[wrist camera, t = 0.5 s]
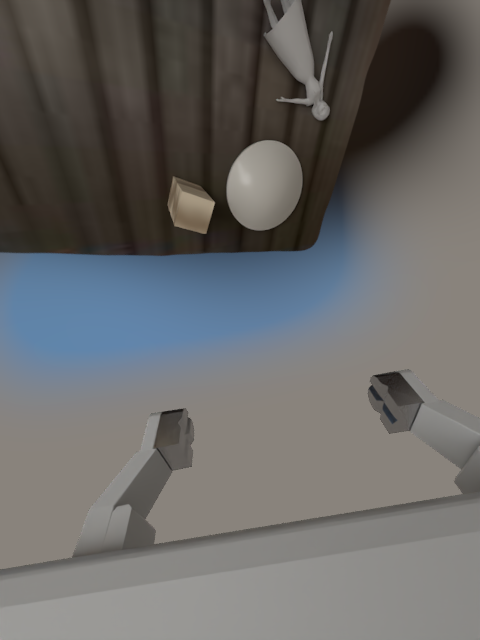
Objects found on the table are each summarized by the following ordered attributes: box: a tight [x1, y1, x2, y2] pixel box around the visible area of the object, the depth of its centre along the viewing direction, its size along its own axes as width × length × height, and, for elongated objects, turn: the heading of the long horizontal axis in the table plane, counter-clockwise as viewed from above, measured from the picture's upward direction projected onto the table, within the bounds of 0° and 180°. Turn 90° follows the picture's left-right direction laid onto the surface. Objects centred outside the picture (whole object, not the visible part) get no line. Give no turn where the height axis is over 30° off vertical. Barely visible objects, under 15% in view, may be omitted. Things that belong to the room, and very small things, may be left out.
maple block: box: [168, 176, 215, 234], centre depth 42 cm, size 5×5×12 cm
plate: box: [226, 140, 303, 230], centre depth 49 cm, size 16×16×1 cm
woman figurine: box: [263, 0, 333, 120], centre depth 38 cm, size 12×4×18 cm
